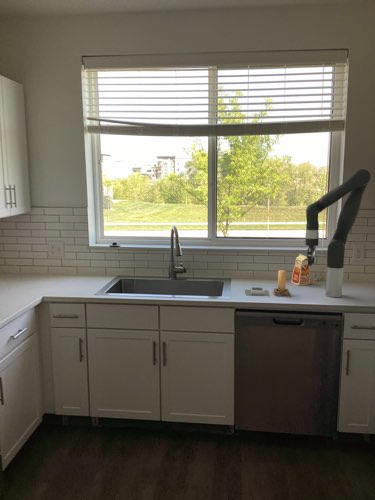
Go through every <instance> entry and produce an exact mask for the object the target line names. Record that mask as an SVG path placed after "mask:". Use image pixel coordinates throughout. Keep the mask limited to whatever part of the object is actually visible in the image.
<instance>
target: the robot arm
mask: <svg viewBox="0 0 375 500" xmlns="http://www.w3.org/2000/svg"><path fill="white" fill-rule="evenodd" d="M371 177H372V175H371V172H370V171H369V170H367V169H365V168H360V169H357V170H356V171H355V172H353V174H352V175H351V176H350V177H349V178H348V179H346V180H345V181H344V182H342V183H341V184H340V185H338V186H337V187H335V188H333V189H331V190H330V191H328V192H327V193H325V194H324V195H322V196H321V197H320V198H319V199H318V200H316V201H315V202H313V203H310V204H308V205H307V206H306V210H305V213H306V214H305V215H306V216H305V217H306V225H305V226H306V228H305V240H304V241H305V242H304V243H305V244H304V245H305V246H308V248H307V254H306V255H307V256H306V257H307V259H308V266H309V267H312V265H314V264H315V258H316V247H318V246H319V242H320V241H319V238H320V234H319V233H320V231H319V229H320V228H319V225H320V224H319V214H320V213H322V212H323V211H324V210H325V209H327V208H329V207H331V206H332V205H334V204H335V203H337V202H338V201H339V200H341V199H342V198H343V197H344V196H346V195H347V196H346V198H345V200H344V202H343V204H342V206H341V210H340V212H339V215H338V219H337V223H336V229H335V231H334V234H333V236H332V238H331V240H330V242H329V244H328V245H327V251H326V252H327V253H326V254H327V255H326V276H325V277H326V279H325V294H324V295H325V296H327V297H331V298H342V297H343V281H344V268H345V267H344V266H345V265H344V264H345V248H346V244H347V239H348V236H349V233H350V232H351V230H352V228H353V225H354V224H355V222H356V219H357V218H358V214H359V211H360V209H361V208H360V207H361V204H362V198H363V195H364V193H365V190H366V188H367V186H368V184H369V183H370V181H371V179H372V178H371Z"/></svg>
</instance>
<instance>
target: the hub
mask: <svg viewBox="0 0 375 500" xmlns="http://www.w3.org/2000/svg"><path fill="white" fill-rule="evenodd" d="M249 288H250V289H244V293H245V296H246V297H247V296H248V297H271V294H270V292H269V290H268V289H267V290H266V289H265V288H264V287H263V286H261V287H259V286H257V287H256V286H250V287H249Z"/></svg>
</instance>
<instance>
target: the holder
mask: <svg viewBox="0 0 375 500" xmlns="http://www.w3.org/2000/svg"><path fill="white" fill-rule="evenodd" d="M271 293H272V296H273V297H279V298H280V297H282V298H283V297H284V298H288V297H289V298H291V297H292V296H291V293H290V290H289V289H288V288H285V292H284V291H278V287H276V288H275V287H274V288H273V291H271Z"/></svg>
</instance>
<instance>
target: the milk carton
mask: <svg viewBox="0 0 375 500" xmlns="http://www.w3.org/2000/svg"><path fill="white" fill-rule="evenodd" d="M291 276H292V277H291V281H290V283H291V284H294V285H296V286H305V285H306V286H307V285H309V284H310V281H311V279H310V278H311V277H310V266H308V258H307V256H306V255H303V254H302V253H299V255H298V256H296V259H295V262H294V267H293V270H292V275H291Z"/></svg>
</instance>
